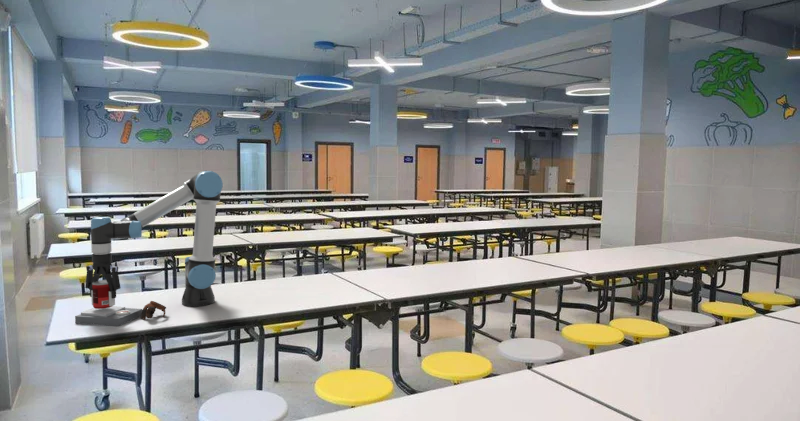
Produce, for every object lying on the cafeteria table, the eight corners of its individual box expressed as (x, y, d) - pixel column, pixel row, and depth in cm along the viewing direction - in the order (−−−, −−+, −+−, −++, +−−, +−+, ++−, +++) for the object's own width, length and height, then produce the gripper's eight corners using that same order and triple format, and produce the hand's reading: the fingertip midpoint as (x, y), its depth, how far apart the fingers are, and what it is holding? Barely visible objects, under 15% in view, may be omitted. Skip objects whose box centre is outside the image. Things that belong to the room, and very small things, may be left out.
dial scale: (142, 315, 238) (142, 306, 238) (118, 326, 222) (118, 316, 222) (102, 312, 241) (101, 304, 241) (75, 323, 226) (75, 313, 225)
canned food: (117, 304, 236) (116, 280, 235) (105, 309, 228) (105, 284, 227) (101, 303, 236) (100, 279, 235) (89, 308, 228) (88, 283, 227)
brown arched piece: (140, 316, 239) (150, 299, 241) (161, 325, 240) (170, 308, 243) (135, 316, 227) (145, 299, 230) (156, 326, 229) (166, 308, 231)
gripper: (129, 252, 232) (130, 304, 234) (86, 250, 235) (88, 301, 237) (117, 255, 225) (119, 308, 227) (73, 253, 228) (75, 305, 230)
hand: (103, 304), depth 232 cm, fingers closed on canned food, 8 cm apart
